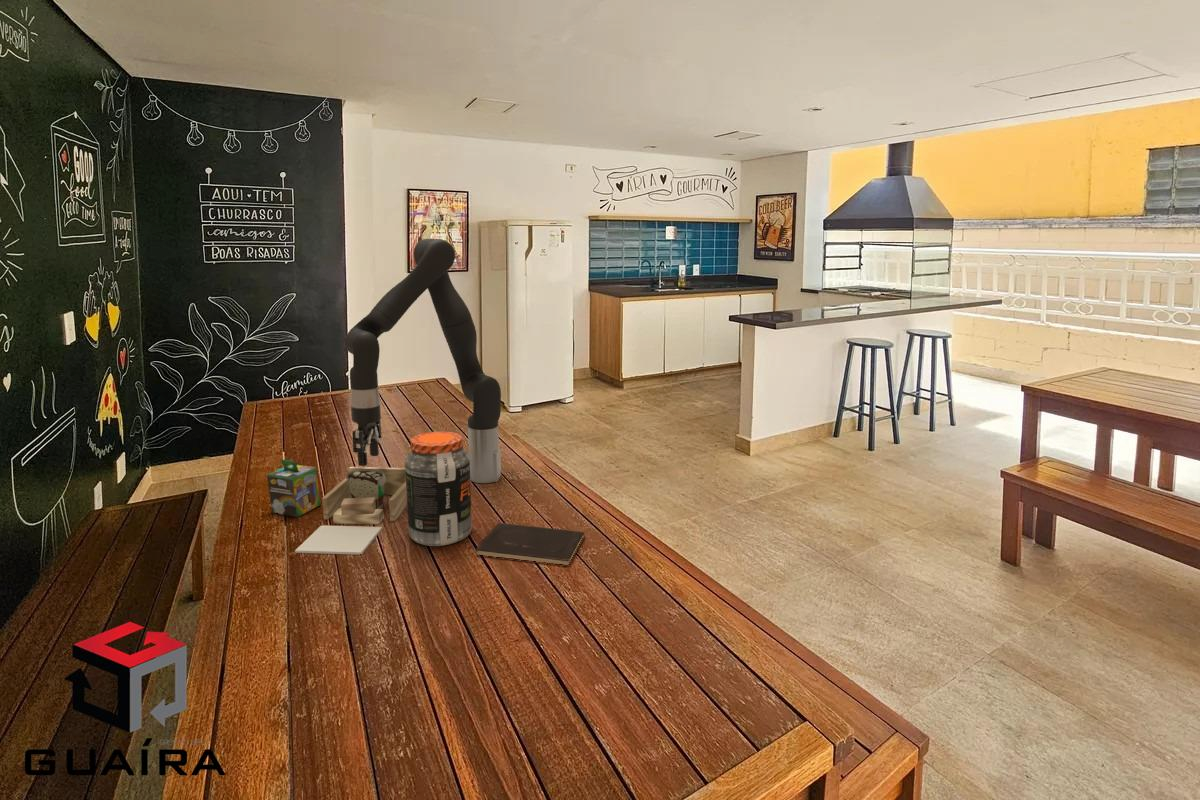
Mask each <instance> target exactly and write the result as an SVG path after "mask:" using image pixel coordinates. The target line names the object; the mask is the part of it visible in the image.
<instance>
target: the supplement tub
mask: <svg viewBox="0 0 1200 800" xmlns="http://www.w3.org/2000/svg"><path fill="white" fill-rule="evenodd" d="M410 450H411V451H409V452H408V454H407V456H406V458H405V462H404V468H405V474H406V491H407V507H406V509H407V510H406V511H407V522H408V523H407V524H408V533H409V537H410V539H412V540H413V541H414V542H416V543H417V544H420V545H423V546H429V547H441V546H442V547H444V546H448V545H452V544H454V543H457V542H459V541H460V542H461V541H462V540H464V539H466V538H467V537H468V536H469V535H470V533H471V531H472V528H473V525H472V523H473V522H472V495H471V494H472V489H471V487H472V486H471V480H470V459H469V453H468V452H467V451H466V450H465V448H464V443H463V436H462V435H461V434H459V433H457V432H454V431H453V432H452V431H430V432H424V433H423V432H422V433H419V434H417V435H415V436H413V437H412V438H411V439H410Z"/></svg>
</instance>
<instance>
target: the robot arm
mask: <svg viewBox="0 0 1200 800" xmlns="http://www.w3.org/2000/svg"><path fill="white" fill-rule="evenodd" d="M413 260H414V263H415V265H416V266H414V268H413V269H412V271H410V272H409V274H408V275H407V276H405V277H404V278H403V279H402V280H400V281H399V282H398V283H397V284H396V285H394V286H393V287H392V288H391V289H389V290H388V292H386V293H385V294H383V296H382V298H381V299H380V300H379V301H378V302H377V303H376V304H375V305H374V306H373V308H371V310H370V312H369V313H368V314H367V315H365V316H364V317H363V318H362V319H360V321H359V322H357V323H356V324H355V325H354V326H353V327H352V328H351V329H349V331H348V332H347V334H346V335H345V337H344V338H345V339H344V347H345V349H346V350H347V351H348V353H350V354H352V359H353V364H352V365H353V366H352V367H351V368H350V370H349V381H350V382H349V384H350V393H349V396H350V397H349V398H350V412H351V421H352V423H355V424H357V429H355V430H352V452H353V453H357V461H358V462H357V464H358V467H367V466H368V452H367V450H368V446H369V451H370V452H369V454H370V456H371V457H378V456H379V455H380V451H379V442H380V439H382V437H383V436H382V427H381V425H382V424H381V418H382V415H381V401H380V400H381V398H380V397H381V396H380V390H379V380H378V379H379V378H378V377H379V376H378V368H379V363H380V362H379V360H380V353H381V352H380V350H381V348H380V343H379V342H380V341H379V340H378V338H379V337H381V336H382V334H384V333H388V332H390V331H391V330H392V329H393V328H394V327H395V326H396V325H397V323H399V321H400V319H401V318H402V317H403V316H404V314H406V312H407V311H408V310H410V309H409V308H410V307H411V306H412V305H413V304H414V303H415V302H416V301H417V300H418V299H419V298H420V296H422V295H423V293H425V291H427V290H428V292H429V295H430V298H431V299H430V300H431V301H432V303H433V305H432V306H433V307H434V310H435V312H436V315H437V318H438V322H439V325H440V328H441V330H442V332H443V335H444V338H445V341H446V343H447V345H448V348H449V352H450V354H451V357H452V358H453V361H454V364H455V367H456V370H457V375H458V378H459V383H460V387H461V390H462V393H463V396H464V397H465V398H466V399H467V400H468V401H469V402H470V403H472V405H473V407H472V408H473V409H472V410H473V411H472V414H471V415H469V416H468V417H467V433H468V434H467V436H468V438H467V439H468V456H469V459H470V482H473V483H476V484H477V483H478V484H489V483H498V481H499V480H500V478H501V476H502V468H501V467H502V466H501V465H502V461H501V447H500V445H499V444H500V443H499V420H500V417H501V411H502V410H501V408H502V407H501V406H502V391H501V389H502V388H501V385H500V383H499V381H498V380H497V379H495V377H492V376H490V375H487V374H486V373H484V370H483V369H482V367H481V363H480V361H479V358H478V353H477V344H478V343H477V340H478V339H477V337H478V336H477V329H476V325H475V322H474V320H473V318H472V314H471V312H470V310H469V307H468V306H467V304H466V303H465V301H464V300H463V299H462V297H461V295H460V293H458V291H457V289H456V287H454V285H453V282H452V280H451V278H450V275H449V272H448V271H449V270H450V269H451V268H452V267H453V265H454V263H455V260H456V252H455V248H454V247H453V245H452V244H451V243H450V242H448V241H447V240H444V239H442V238H423V239H421V240H419V241H418V242H417V243H416V244H415V246H414V249H413Z"/></svg>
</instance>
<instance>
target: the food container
mask: <svg viewBox="0 0 1200 800" xmlns="http://www.w3.org/2000/svg"><path fill="white" fill-rule="evenodd" d="M345 478H346V479H348V483H349V489H350V495H351V498H368V497H375V502H376V508H375V509H383V510H384V484H385V482H386V478H385V474H384V473H383V472H382V471H381V470H378V469H357V470H353V471H349V470H348V471H346V475H345Z"/></svg>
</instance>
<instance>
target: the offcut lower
mask: <svg viewBox="0 0 1200 800" xmlns="http://www.w3.org/2000/svg"><path fill="white" fill-rule="evenodd" d="M382 519H383V520H384V519H385V512H384V508H383V509H375V511H374V514H355V515H342V512H341V508H339V509H338V510H337V511H336V512H335V513H334V514H333V515H332V520H333V524H338V525H339V524H344V525H347V524H348V525H350V524H351V525H379V523H380V524H381V523H382V521H383V520H382Z"/></svg>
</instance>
